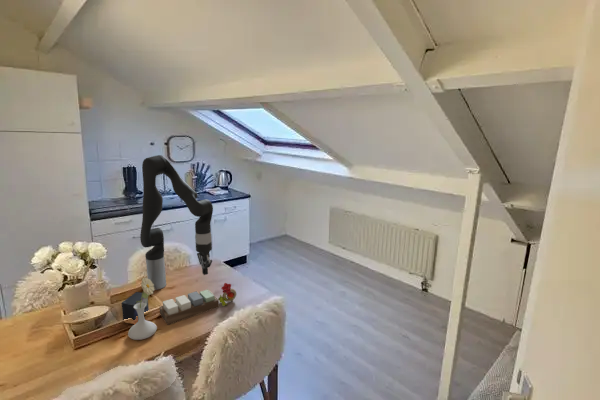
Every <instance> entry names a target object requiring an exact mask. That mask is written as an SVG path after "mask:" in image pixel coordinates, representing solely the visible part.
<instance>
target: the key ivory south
mask: <svg viewBox="0 0 600 400" xmlns="http://www.w3.org/2000/svg"><path fill="white" fill-rule="evenodd" d="M175 302H176V301H175V300H174V299H173V298H171V299H166V300H163V301H162V306H163V309H164V310H165V312H166V313H167V314H168V316H169V315H172V314H175V313H178V305H177V304H176V303H175Z"/></svg>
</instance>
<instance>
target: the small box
mask: <svg viewBox="0 0 600 400" xmlns="http://www.w3.org/2000/svg"><path fill="white" fill-rule="evenodd" d="M142 293H143V294H144V293H145V292H140V291H136V292H134V293H133V294H131V295H130V296H128V297H127V298H126V299H124V300H123V301H122V302H121V311H122V312H121V313H122V321H123V320H124V319H128V318H132V319H133V320H135V319H136V316H138V313H137V311H136V309H134V305H135V304H138V303H140V302H137V303H136V301H141V297H142ZM141 303H146V304H147V305H146V307H145V309H144V312H146V311H148V310H149V311H150V309H149V297H148V298H146V299H145V298H143V297H142V302H141Z"/></svg>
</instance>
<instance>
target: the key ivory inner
mask: <svg viewBox="0 0 600 400" xmlns="http://www.w3.org/2000/svg"><path fill="white" fill-rule="evenodd" d="M175 302H176V304H177V305H178V307H179V309H180V310H181V311H184V310H187V309H190V308H191V301H190V300H189V299H188V296H186V295H185V294H183V295H180V296H176V297H175Z"/></svg>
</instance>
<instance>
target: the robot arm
mask: <svg viewBox="0 0 600 400" xmlns="http://www.w3.org/2000/svg"><path fill="white" fill-rule="evenodd" d="M141 166H142V182H143V183H142V184H143V185H142V186H143V187H142V188H143V194H142V222H141V228H140V235H139V237H140V239H139V240H140V244H141V246H142V247H143V248H150V249H149V250H147V252H145V265H146V275H147V278H148V279H150V280H151V281H152V284H154V286H153V287H154V291H155V290H156V291H157V290H161V289H164V288H165V287H166V286H167V279H166V278H167V274H166V264H165V237H164V232H163V230H162V228H161V227H155V228H152V227H153V224H154V223H155V221H156V220H157V219H158V217H159V216H160V215H161V213H162V212H163V211H162V210H163V203H164V201H163V200H164V199H163V198H164V197H163V196H162V193H160V191H159V189H158V187H157V186H156V185H157V184H156V179H157V176H160V175H165V176H166V177H167V178H168V179H170V182H171V186H172V189H173V192H174V193H175V194H176V195H177V196H178V197H179V198H180V200H182V201H183V203H184V204H185V205H186V207H187V209H188V210H189V212H190V214H192V216H195V217H197V218H198V219H197V220H195V222H194V226H195V227H194V231H195V235H194V239H195V242H194V243H195V251H196V252H197V253H196V256H197V259H198V263H199V265H200V266H201V270H202V271H201V272H202V275H203V276H206V275H208V274H209V271H208V270H209V268H210V267H211V266H212V262H213V260H212V259H211V258H210V257H211V255H210V252H211V251H212V249H213V242H212V232H211V231H212V229H211V222H212V218H213V217H212V216H213V212H214V206H213V203H212V202H211V201H210V200H209V199H206V198H205V199H204V198H203V199H201V200H197V198H198V193H197V192H196V191H195V190H194V189H193V188H192V187H191V186H190V185H189V184H188V183H187V182H186V181H185V180H184V179H183V178H182V177H181V175H180V173H178V171H177V170H176V169H175V167H174V165H172V163H171V162H170V161H169V160H168V158H166V156H164V155H162V154H161V155H160V154H158V155H153V156H149V157H146V158H144V159H143V161H142V165H141ZM151 247H152V248H151Z"/></svg>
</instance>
